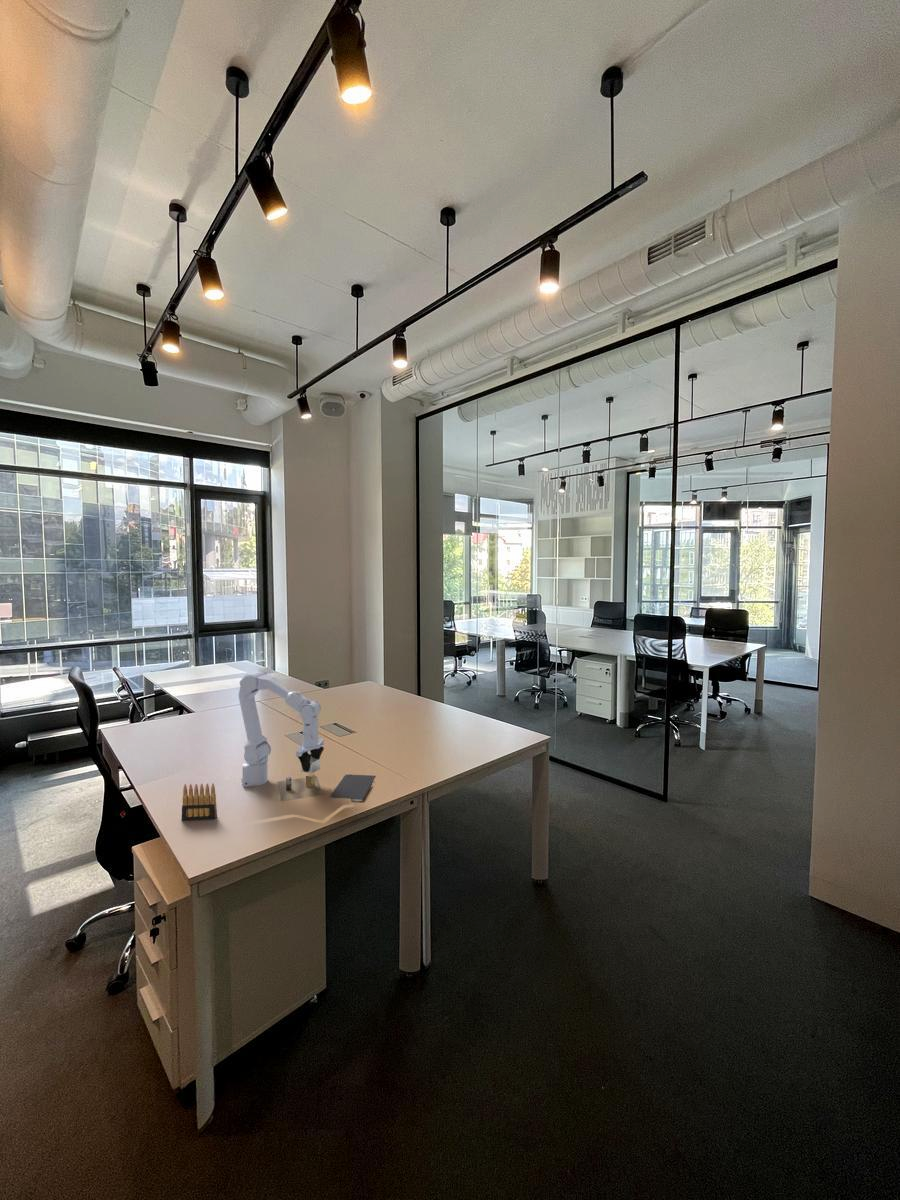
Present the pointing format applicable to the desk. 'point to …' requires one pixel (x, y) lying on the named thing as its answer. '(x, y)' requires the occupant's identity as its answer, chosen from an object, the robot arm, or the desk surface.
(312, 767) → the steel collar
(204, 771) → the desk surface
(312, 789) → the tan board
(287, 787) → the grey metal cylinder
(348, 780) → the notebook
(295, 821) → the desk surface
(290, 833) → the desk surface
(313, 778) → the pale yellow square peg
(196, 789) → the ammunition clip
